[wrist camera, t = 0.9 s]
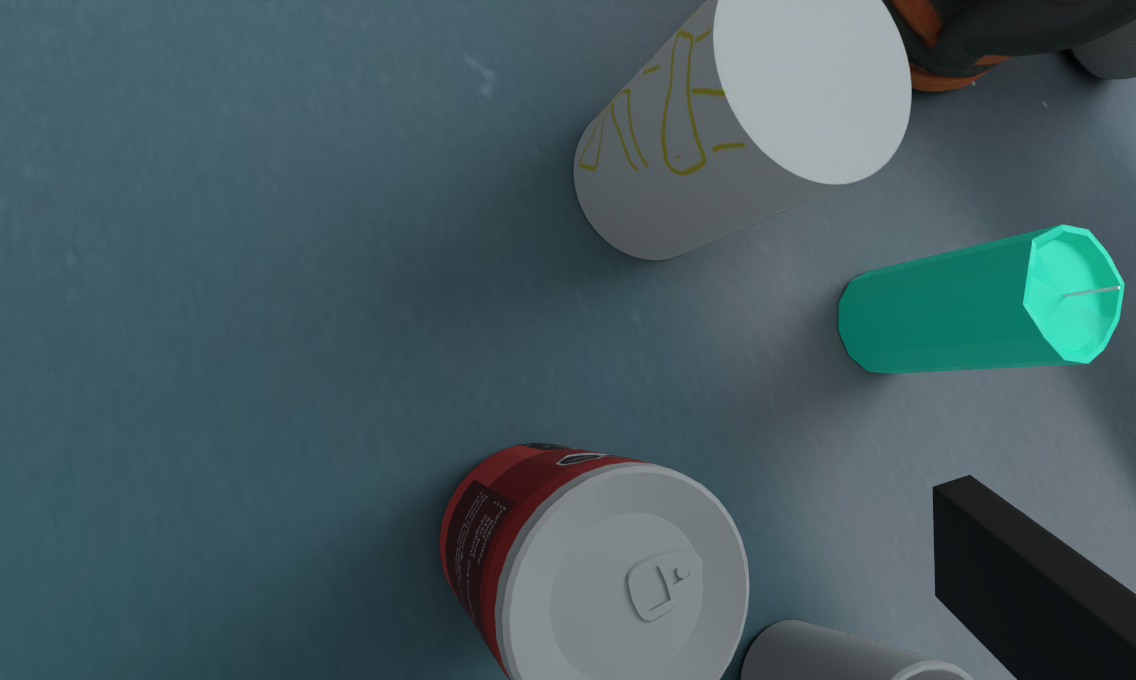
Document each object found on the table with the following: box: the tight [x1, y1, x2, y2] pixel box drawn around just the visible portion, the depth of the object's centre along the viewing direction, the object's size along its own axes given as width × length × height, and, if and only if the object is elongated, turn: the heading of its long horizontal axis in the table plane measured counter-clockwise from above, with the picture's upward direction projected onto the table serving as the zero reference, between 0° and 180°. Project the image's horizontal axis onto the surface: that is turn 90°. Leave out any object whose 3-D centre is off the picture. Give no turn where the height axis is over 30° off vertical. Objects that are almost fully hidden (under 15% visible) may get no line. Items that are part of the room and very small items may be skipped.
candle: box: [838, 224, 1125, 374], centre depth 31 cm, size 6×6×12 cm
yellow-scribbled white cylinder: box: [573, 0, 912, 260], centre depth 27 cm, size 8×8×12 cm
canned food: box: [440, 443, 750, 680], centre depth 23 cm, size 8×8×11 cm
